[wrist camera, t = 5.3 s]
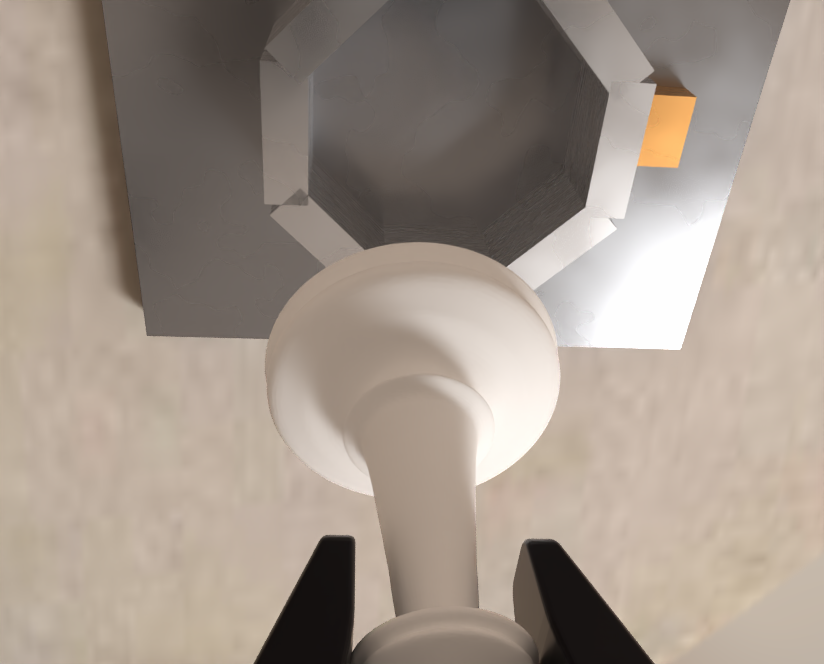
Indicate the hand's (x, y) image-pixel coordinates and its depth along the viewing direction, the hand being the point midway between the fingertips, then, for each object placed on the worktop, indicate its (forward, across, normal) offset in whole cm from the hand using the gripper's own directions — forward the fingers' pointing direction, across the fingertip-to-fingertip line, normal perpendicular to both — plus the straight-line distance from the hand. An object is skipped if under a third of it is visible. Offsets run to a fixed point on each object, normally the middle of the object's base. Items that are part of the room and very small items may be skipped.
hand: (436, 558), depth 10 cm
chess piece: (+4, 0, 0) cm, 4 cm away
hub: (+14, -1, -2) cm, 14 cm away
